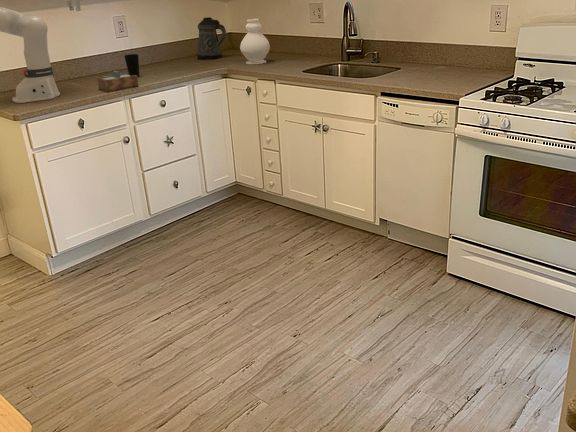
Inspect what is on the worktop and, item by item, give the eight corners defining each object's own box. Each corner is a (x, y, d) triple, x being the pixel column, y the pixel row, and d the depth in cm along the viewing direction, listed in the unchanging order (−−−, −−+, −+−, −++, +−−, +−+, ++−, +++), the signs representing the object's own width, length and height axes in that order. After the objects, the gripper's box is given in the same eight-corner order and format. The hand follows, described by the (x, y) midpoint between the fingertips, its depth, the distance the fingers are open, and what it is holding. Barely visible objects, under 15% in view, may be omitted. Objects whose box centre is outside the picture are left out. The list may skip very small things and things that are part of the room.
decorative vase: (270, 64, 352) (267, 20, 342) (240, 65, 352) (236, 21, 342) (271, 59, 368) (268, 17, 358) (242, 60, 369) (239, 18, 359)
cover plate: (107, 83, 300) (106, 74, 298) (101, 81, 306) (99, 72, 304) (133, 78, 307) (132, 70, 306) (126, 76, 313) (125, 68, 312)
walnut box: (107, 92, 300) (105, 80, 297) (99, 89, 308) (97, 77, 305) (138, 86, 309) (136, 75, 307) (129, 84, 317) (127, 72, 315)
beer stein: (195, 57, 392) (190, 17, 382) (224, 54, 397) (220, 15, 386) (199, 61, 377) (195, 19, 367) (229, 58, 382) (225, 17, 372)
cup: (127, 78, 333) (123, 56, 328) (127, 76, 340) (124, 54, 335) (141, 77, 334) (138, 55, 329) (141, 75, 341) (138, 53, 336)
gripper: (53, -18, 295) (62, 11, 301) (68, -18, 280) (76, 12, 286) (66, -20, 298) (74, 8, 305) (80, -20, 283) (89, 10, 290)
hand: (75, 10), depth 295 cm, fingers open, 8 cm apart
